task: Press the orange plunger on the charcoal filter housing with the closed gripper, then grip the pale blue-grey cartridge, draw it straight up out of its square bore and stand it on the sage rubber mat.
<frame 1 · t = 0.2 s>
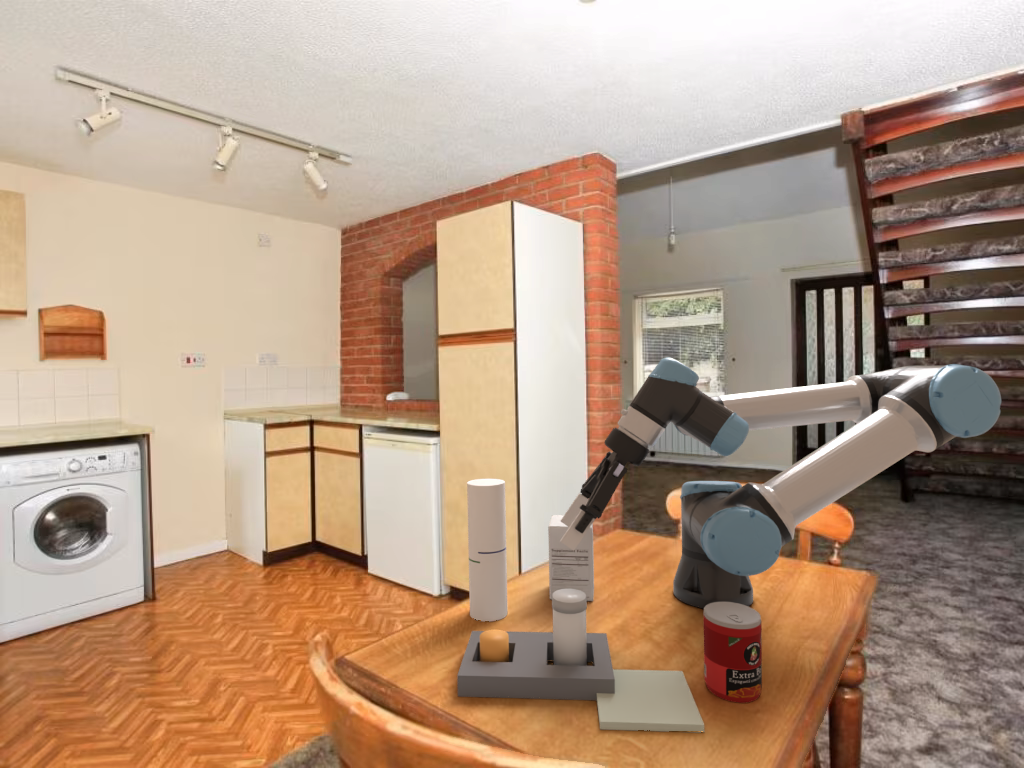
hand: (566, 534, 104), 16 cm above the table, tool tilted 35°, fingers open, 13 cm apart
cartridge: (570, 673, 87), resting in filter housing
supplement box: (572, 593, 119), on the table
cylindrical container: (488, 614, 110), on the table
canned food: (732, 689, 83), on the table
mat: (644, 701, 80), on the table
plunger: (494, 648, 88), point 4 cm above the table, slide at 0.0 cm
filter housing: (537, 672, 88), on the table
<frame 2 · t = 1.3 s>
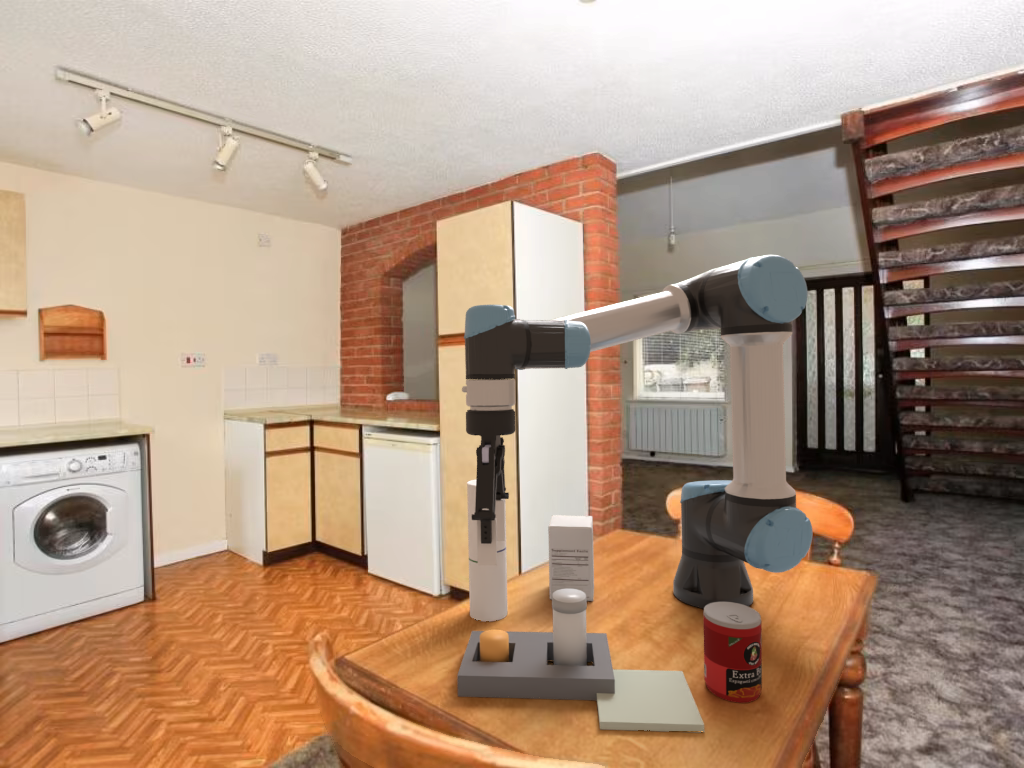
hand: (492, 551, 88), 18 cm above the table, tool pointing down, fingers open, 11 cm apart
nothing on the table moved.
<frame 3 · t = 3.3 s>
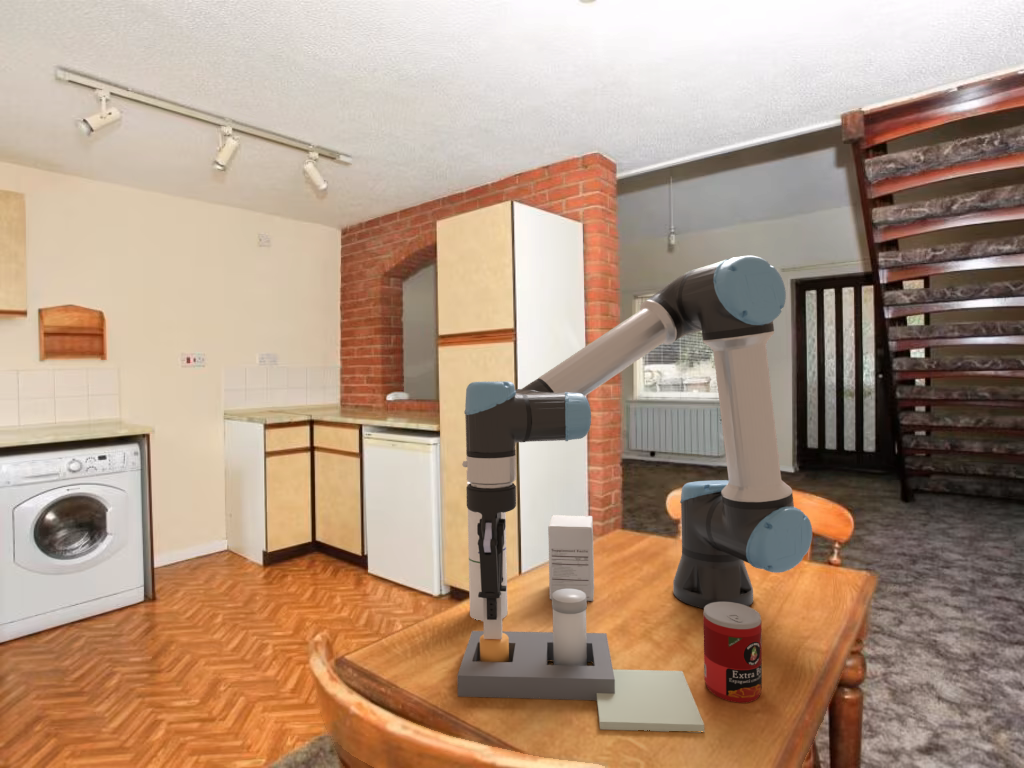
hand: (493, 636, 88), 5 cm above the table, tool pointing down, fingers closed
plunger: (494, 651, 88), point 3 cm above the table, slide at 0.4 cm, touching gripper
everything else where it was.
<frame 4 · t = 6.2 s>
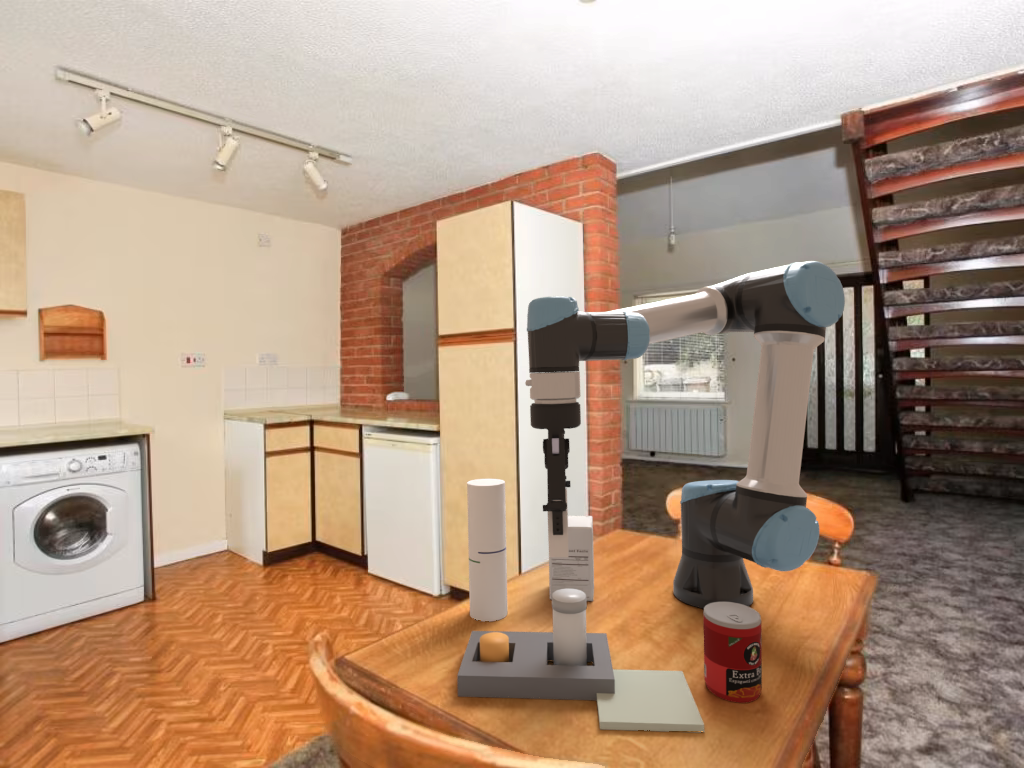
hand: (559, 541, 87), 20 cm above the table, tool pointing down, fingers open, 13 cm apart
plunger: (494, 651, 88), point 3 cm above the table, slide at 0.4 cm
everything else where it was.
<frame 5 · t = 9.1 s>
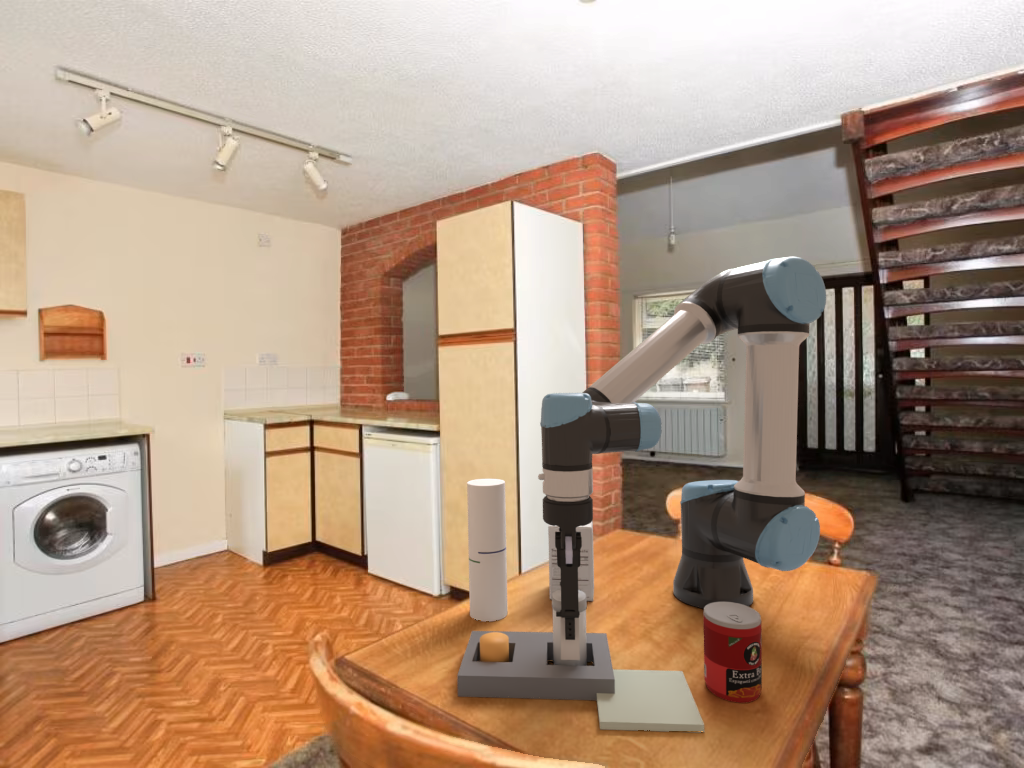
hand: (569, 648, 87), 4 cm above the table, tool pointing down, fingers closed on cartridge, 5 cm apart
cartridge: (570, 673, 87), resting in filter housing, touching gripper
everything else where it was.
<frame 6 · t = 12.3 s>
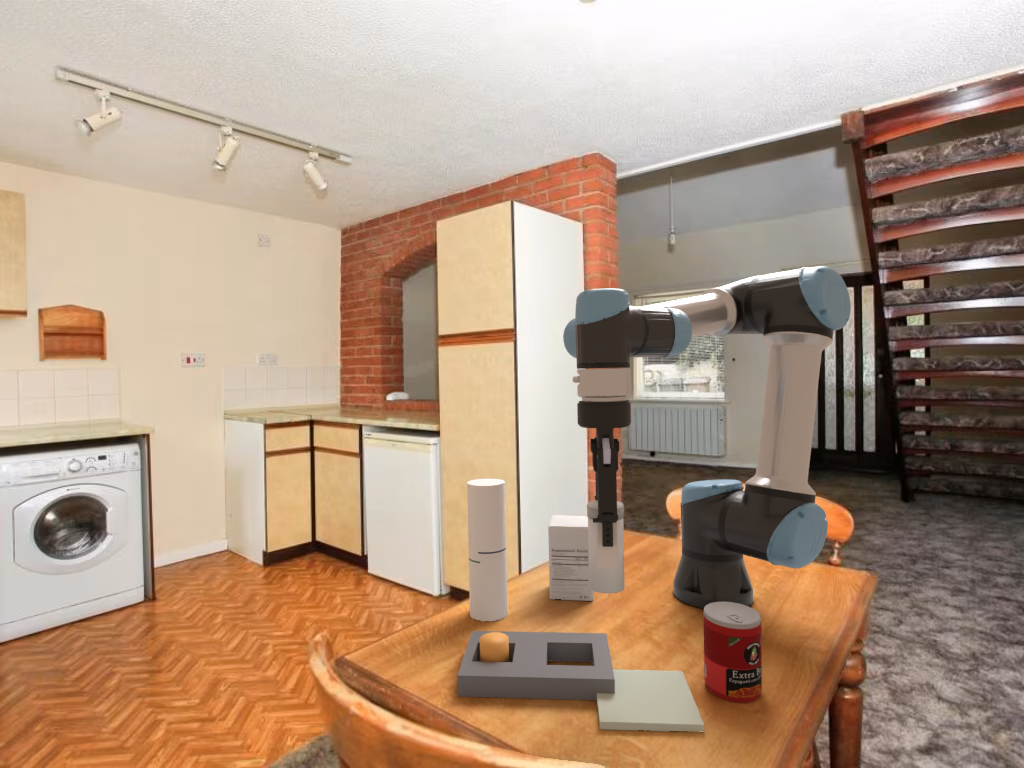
hand: (606, 560, 83), 18 cm above the table, tool pointing down, fingers closed on cartridge, 5 cm apart
cartridge: (606, 586, 83), point 15 cm above the table, touching gripper
everything else where it was.
when the fingers open (6 cm above the table, at t = 15.5 s): cartridge drops 1 cm, resting on mat.
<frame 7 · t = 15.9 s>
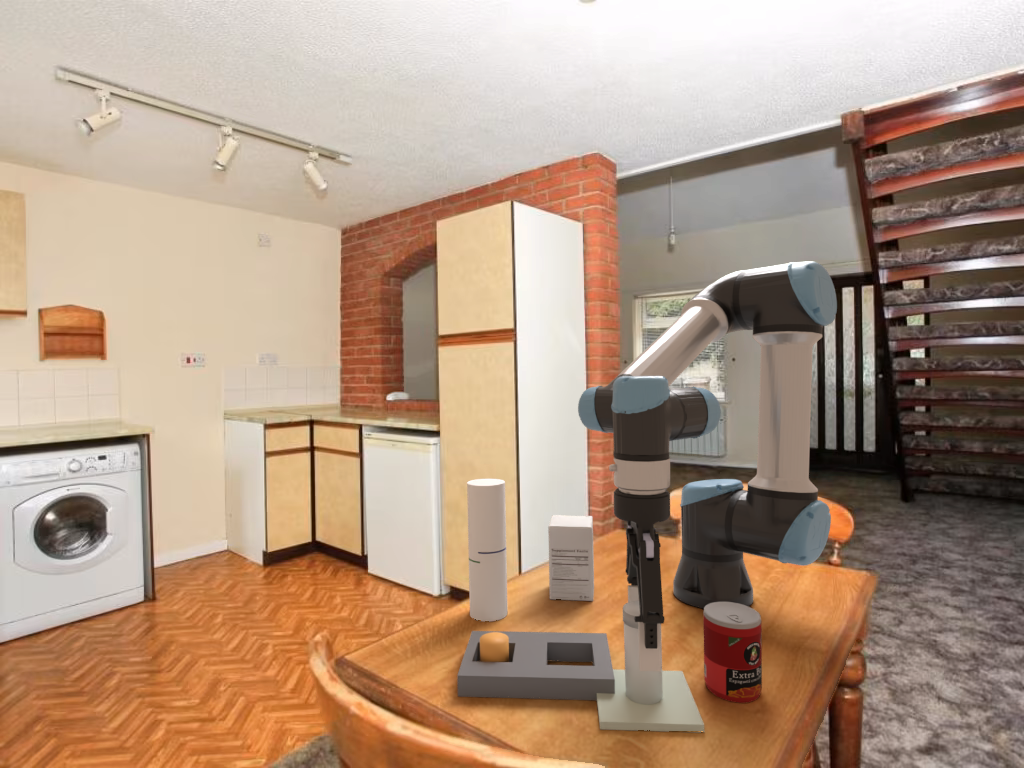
hand: (643, 648, 80), 7 cm above the table, tool pointing down, fingers open, 10 cm apart
cartridge: (644, 694, 80), point 1 cm above the table, touching mat
everything else where it was.
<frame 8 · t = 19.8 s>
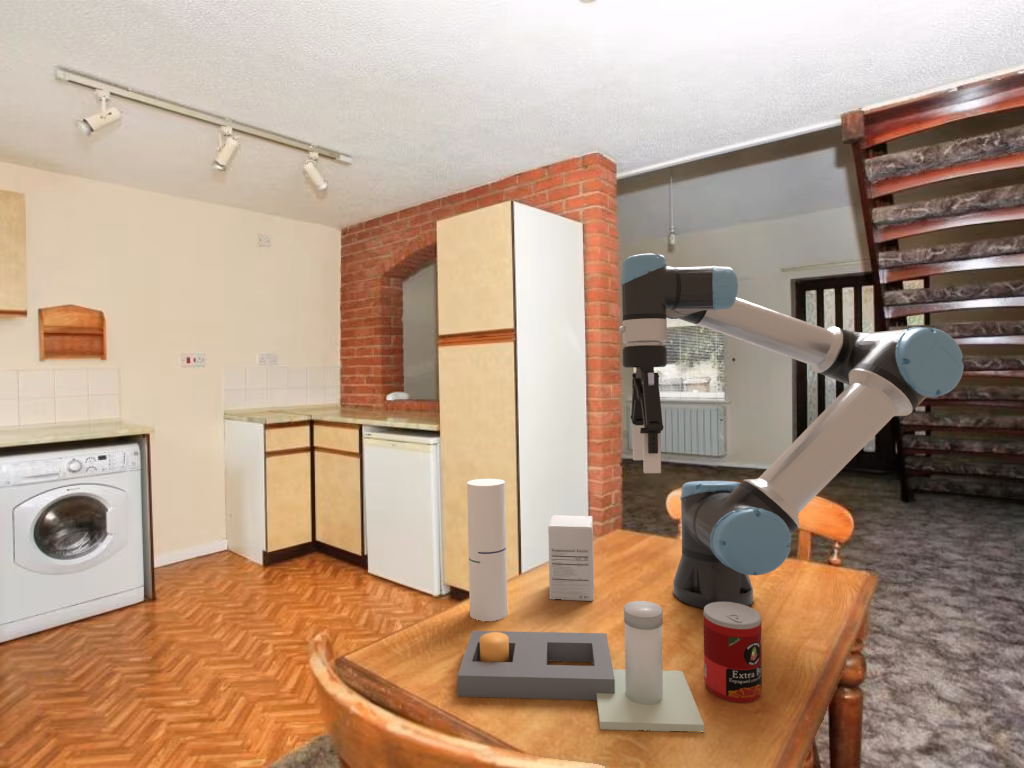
hand: (645, 466, 102), 29 cm above the table, tool pointing down, fingers open, 13 cm apart
nothing on the table moved.
at the end: cartridge inside the target area on the mat (0.0 cm from its centre), point 1.0 cm above the mat's base; cartridge tilted 0°; the gripper is holding nothing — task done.
